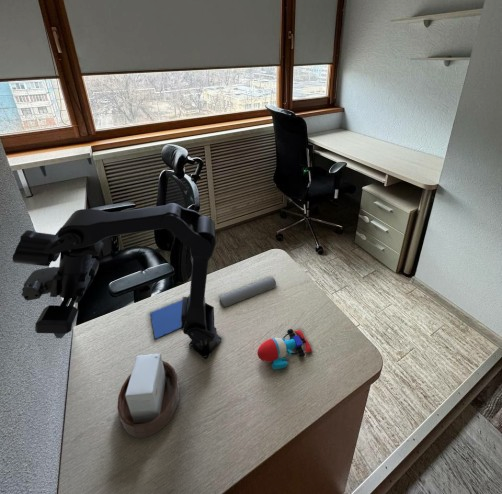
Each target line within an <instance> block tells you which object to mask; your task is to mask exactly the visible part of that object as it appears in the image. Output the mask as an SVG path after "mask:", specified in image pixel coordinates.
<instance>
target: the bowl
mask: <svg viewBox="0 0 502 494" xmlns="http://www.w3.org/2000/svg"><path fill="white" fill-rule="evenodd" d="M162 362H163V366H164V371H165V376H166V384H165V390H164V395H163V401H162V407H161V413H160V415H159V416H157V417H156V418H155V419H154V420H151V421H149V422H141V423H134V422H133V419H132V416H131V413H130V409H129V406H128V403H127V400H126V397H125V395H126V391H127V388H128V384H129V381H130V377H131V373H130V374H129V375H128V376H127V378H126V379H125V381H124V383H123V384H122V386H121V388H120V391H119V394H118V397H117V412H118V416H119V418H120V422H121V424H122V427H123V429H124V430H125V431H126V432H127V434H128V435H130V436H132V437H135V438H148V437H150V436H153V435H154V434H157V433H159V431H161V429H162V430H163V428H164V427H166V426H167V424H168V423H169V421H170V420H171V419H172V418H173V416H174V414H175V412H176V410H177V407H178V405H179V399H180V385H179V380H178V374H177V373H176V371H175V368H174V366H172V365H171V364H170V363H169V362H167V361H164V360H162Z"/></svg>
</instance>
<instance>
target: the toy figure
mask: <svg viewBox="0 0 502 494" xmlns="http://www.w3.org/2000/svg"><path fill="white" fill-rule="evenodd" d="M287 336H289V339H287V340H286V337H287ZM303 344H304V347H305V348H304V349H305V350H304V349H303ZM293 349H295V350H296V351H295V352H293V351H292V350H293ZM312 351H313V349H312V347H311V344H310V342H309V340H308V339H307V338H306V337H305V335H304V333H303V331H301V330H293V328H290V329H288V330H286V333H285V335H284V336H283V337H282V338H280V337H275V338H274V337H271V338H268V339H266V340H265V341H263V342H262V343H261V344H259V346H258V348H257V357H258V358H259V359H260V360H261V361H263V362H266V363H271V362H272V364H271V367H272V369H273V370H274V371H275V370H280V369H285V368H286V367H287V365H288V363H289V361H287V360H286V359H287V357H285V356H286V354H288V355H289V356H294V355H298V356H299V357H300V358H302V357H304V356H306V354H307V353H310V352H312Z"/></svg>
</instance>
